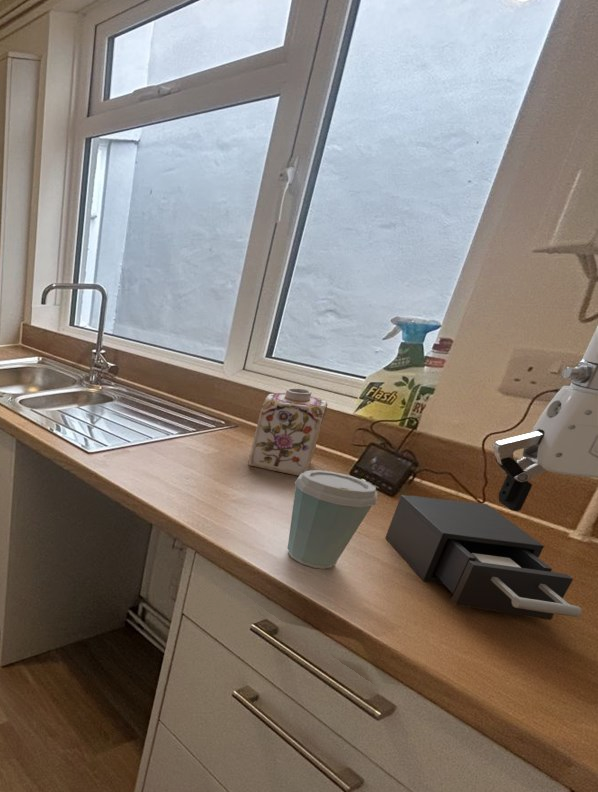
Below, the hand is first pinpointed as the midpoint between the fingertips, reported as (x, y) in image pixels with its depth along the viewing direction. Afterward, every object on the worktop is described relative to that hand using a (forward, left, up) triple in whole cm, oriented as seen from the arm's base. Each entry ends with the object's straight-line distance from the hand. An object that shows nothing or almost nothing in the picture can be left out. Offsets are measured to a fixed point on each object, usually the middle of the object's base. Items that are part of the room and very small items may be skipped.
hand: (557, 511), depth 67 cm
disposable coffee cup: (+20, -10, -17) cm, 28 cm away
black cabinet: (0, -15, -17) cm, 23 cm away
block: (0, -3, -13) cm, 13 cm away
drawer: (0, -4, -16) cm, 17 cm away
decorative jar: (+15, -54, -17) cm, 58 cm away
